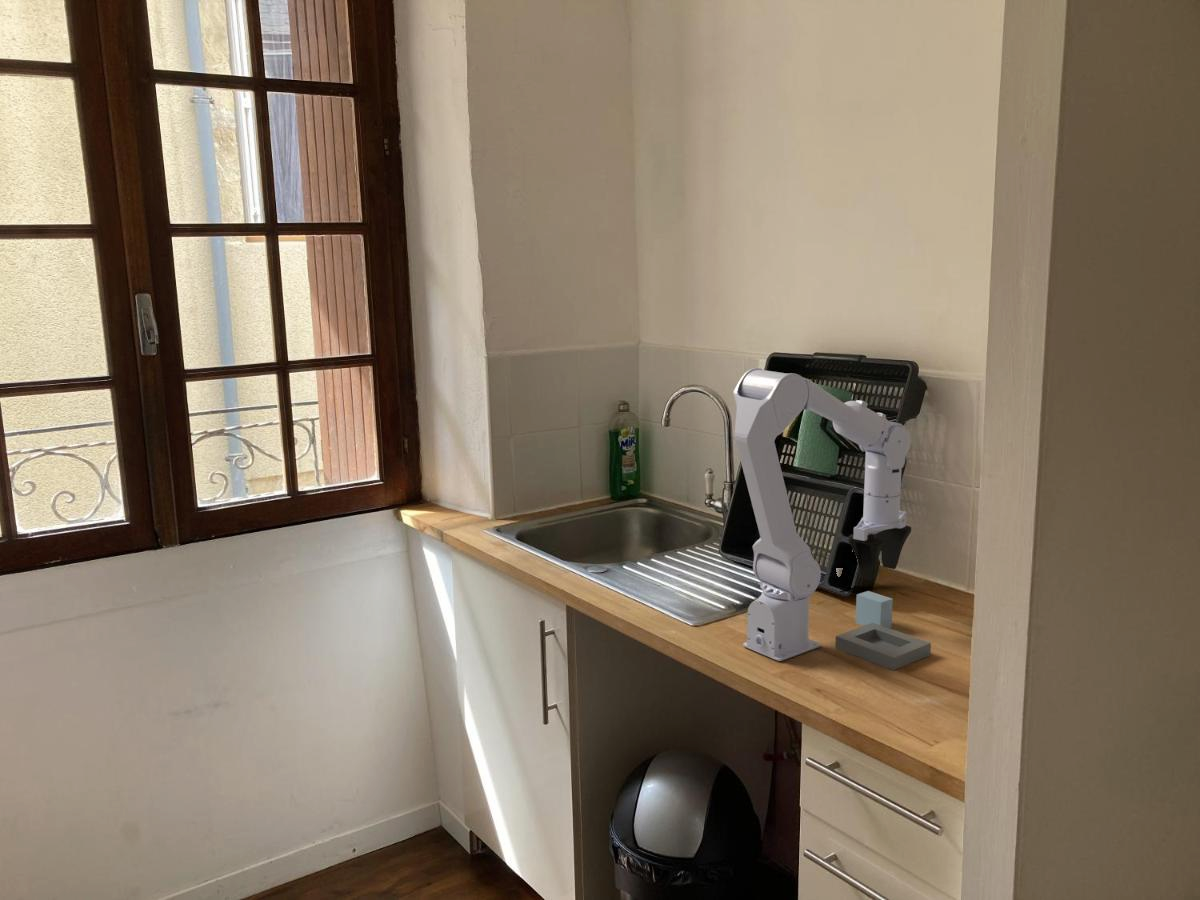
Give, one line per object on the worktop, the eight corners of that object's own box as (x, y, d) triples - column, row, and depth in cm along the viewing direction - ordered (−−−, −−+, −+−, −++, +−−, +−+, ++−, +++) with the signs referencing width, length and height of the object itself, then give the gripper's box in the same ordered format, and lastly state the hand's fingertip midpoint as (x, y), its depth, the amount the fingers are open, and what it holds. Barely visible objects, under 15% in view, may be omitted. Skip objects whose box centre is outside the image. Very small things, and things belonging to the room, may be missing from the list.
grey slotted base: (893, 670, 147) (893, 657, 147) (835, 647, 156) (835, 635, 156) (930, 655, 153) (930, 642, 152) (872, 634, 161) (872, 622, 161)
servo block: (879, 631, 163) (881, 602, 162) (855, 623, 166) (856, 594, 166) (891, 627, 164) (892, 598, 163) (867, 619, 168) (868, 590, 167)
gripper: (883, 505, 155) (880, 589, 157) (925, 489, 165) (921, 567, 168) (843, 498, 159) (840, 579, 162) (885, 482, 170) (882, 559, 172)
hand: (878, 573), depth 165 cm, fingers open, 7 cm apart
